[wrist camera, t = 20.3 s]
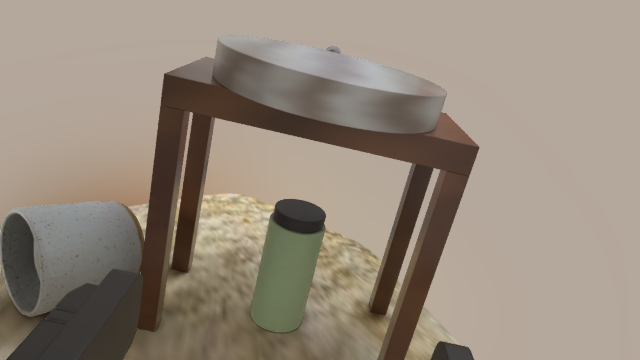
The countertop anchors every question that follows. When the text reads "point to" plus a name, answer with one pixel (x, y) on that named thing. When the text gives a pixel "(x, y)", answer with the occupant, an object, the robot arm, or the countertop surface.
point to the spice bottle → (287, 265)
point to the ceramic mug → (65, 250)
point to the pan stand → (319, 125)
